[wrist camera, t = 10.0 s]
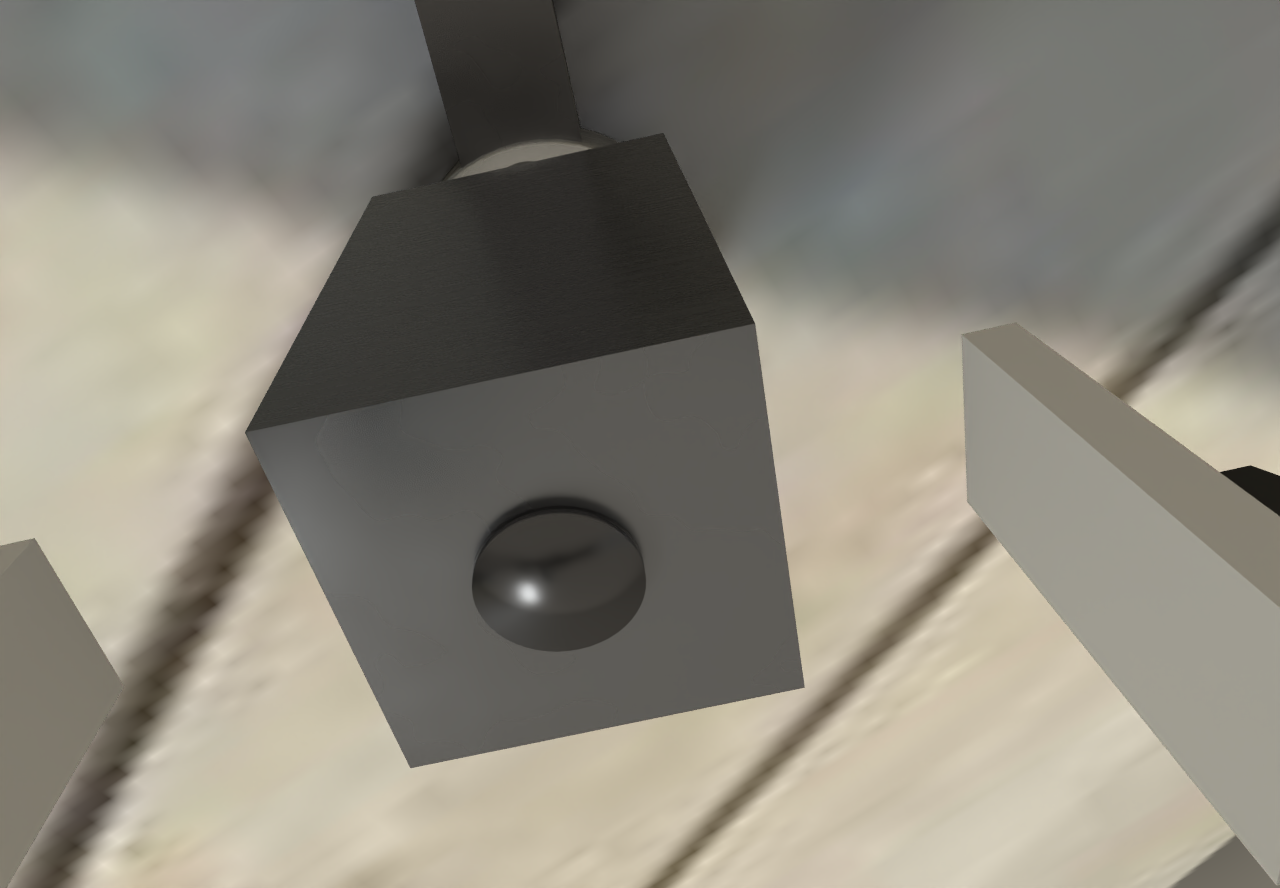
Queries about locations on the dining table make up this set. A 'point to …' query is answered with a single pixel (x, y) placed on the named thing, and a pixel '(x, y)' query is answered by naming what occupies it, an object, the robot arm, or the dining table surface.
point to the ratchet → (503, 82)
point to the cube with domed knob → (537, 457)
